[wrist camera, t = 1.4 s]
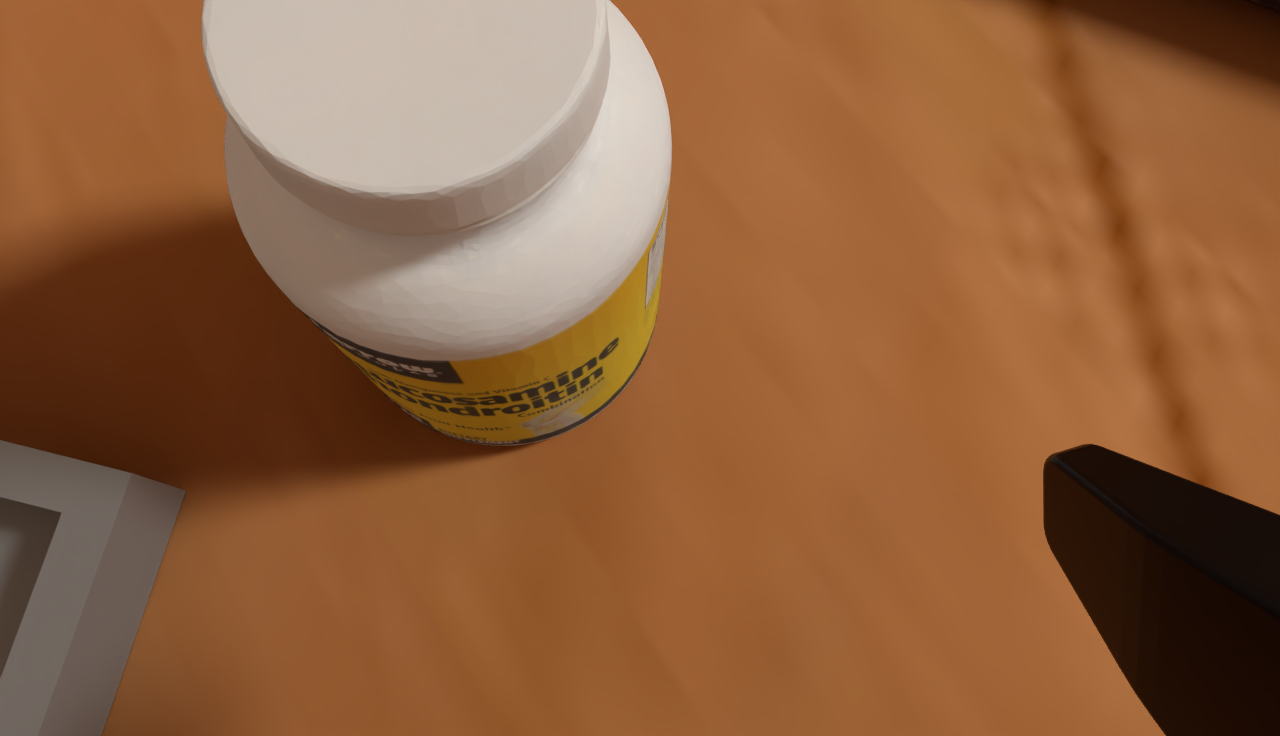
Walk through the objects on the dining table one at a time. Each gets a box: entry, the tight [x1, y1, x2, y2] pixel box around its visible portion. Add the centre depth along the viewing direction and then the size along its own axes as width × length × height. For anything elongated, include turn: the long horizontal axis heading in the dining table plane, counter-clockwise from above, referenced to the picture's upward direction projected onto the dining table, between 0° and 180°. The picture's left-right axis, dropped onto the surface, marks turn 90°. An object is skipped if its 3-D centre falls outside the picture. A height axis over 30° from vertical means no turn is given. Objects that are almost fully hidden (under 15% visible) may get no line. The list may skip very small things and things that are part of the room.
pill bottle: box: [201, 0, 672, 446], centre depth 18 cm, size 6×6×12 cm
